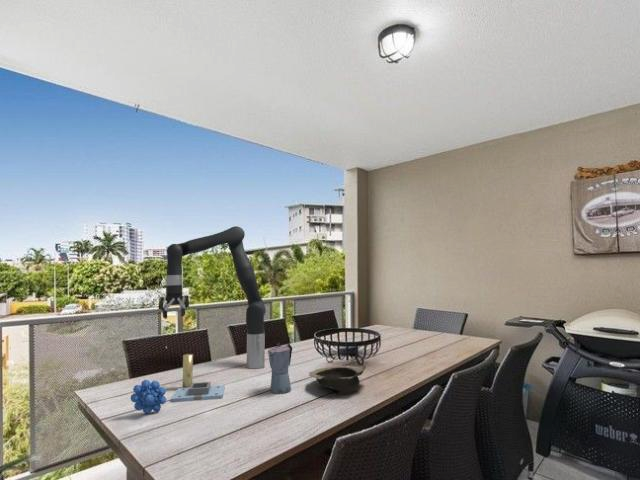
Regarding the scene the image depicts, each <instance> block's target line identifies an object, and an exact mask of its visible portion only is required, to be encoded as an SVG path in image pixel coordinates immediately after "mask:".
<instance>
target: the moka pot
mask: <svg viewBox="0 0 640 480" xmlns="http://www.w3.org/2000/svg"><path fill="white" fill-rule="evenodd" d="M281 344H282V343H281V342H280V341H279V342H277V343H276V346H274V347H270V348H268V350H267V353H268V359H269V367H270V369H271V377H270V378H271V379H270V380H271V381H270V390H269V391H270V392H271V393H272V394H276V395H279V394H285V393H288V392H290V391H291V390H292V385H291V381H290V380H291V379H290V374H289V366H291V359H292V353H293V347H292V346H291V344H290V343H288V344H285V345H281Z"/></svg>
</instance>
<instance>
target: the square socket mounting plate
mask: <svg viewBox="0 0 640 480" xmlns="http://www.w3.org/2000/svg"><path fill="white" fill-rule="evenodd" d="M211 382H212V381H202V382H192V383H191V385H190V387H189V388H182V387H179V388H177V390H176V391H175V393H174V394H173V396H172V398H171V403H174V402H175V403H177V402H188V401H189V402H190V401H203V400H218V399H223V398H224V393H225V388H226V386H225V385H224V384H223V385H211Z"/></svg>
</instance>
